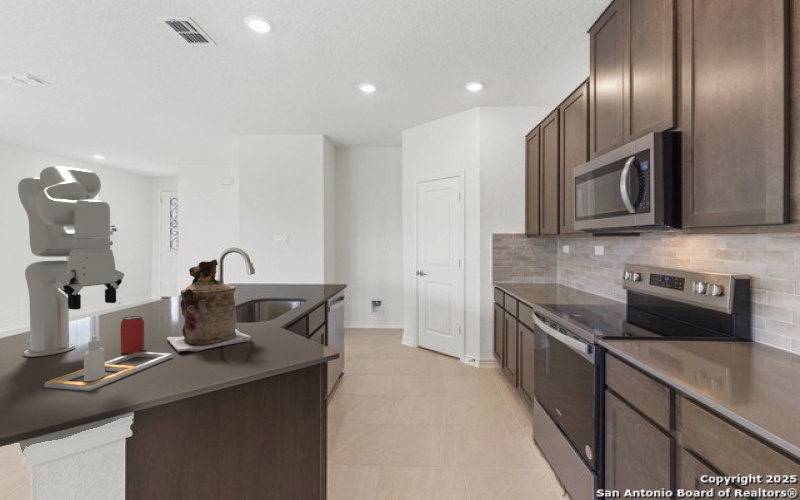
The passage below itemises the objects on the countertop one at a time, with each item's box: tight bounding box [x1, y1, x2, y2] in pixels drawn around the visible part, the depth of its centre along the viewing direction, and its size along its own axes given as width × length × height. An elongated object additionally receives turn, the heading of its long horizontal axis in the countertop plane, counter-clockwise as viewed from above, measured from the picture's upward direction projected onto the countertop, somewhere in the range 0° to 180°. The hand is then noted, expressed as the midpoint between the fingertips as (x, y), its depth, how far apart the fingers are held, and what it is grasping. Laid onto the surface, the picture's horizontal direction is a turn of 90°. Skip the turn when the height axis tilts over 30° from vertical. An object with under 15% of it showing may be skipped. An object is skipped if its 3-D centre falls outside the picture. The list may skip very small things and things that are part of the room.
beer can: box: [119, 315, 145, 355], centre depth 121 cm, size 7×7×12 cm
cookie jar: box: [166, 258, 252, 353], centre depth 133 cm, size 25×25×32 cm
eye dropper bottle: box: [83, 335, 106, 383], centre depth 97 cm, size 4×6×12 cm
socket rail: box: [44, 351, 174, 392], centre depth 103 cm, size 14×26×1 cm, turn 171°
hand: (93, 305), depth 97 cm, fingers open, 9 cm apart
